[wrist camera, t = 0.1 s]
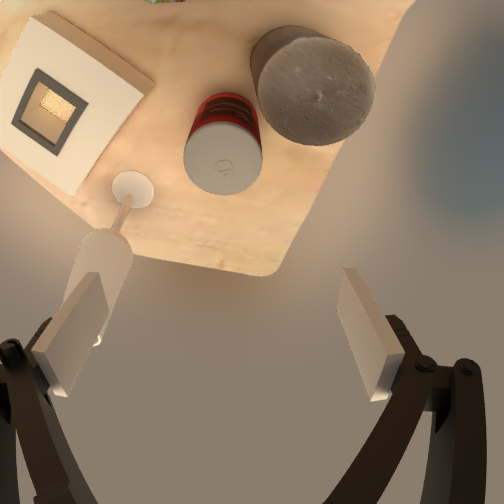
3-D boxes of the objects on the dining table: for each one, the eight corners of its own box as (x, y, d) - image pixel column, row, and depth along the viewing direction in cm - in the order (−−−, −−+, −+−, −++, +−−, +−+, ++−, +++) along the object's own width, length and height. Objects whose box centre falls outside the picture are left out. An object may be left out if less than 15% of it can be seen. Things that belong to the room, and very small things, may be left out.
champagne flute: (163, 197, 45) (124, 345, 28) (129, 215, 47) (83, 354, 30) (136, 162, 41) (73, 306, 24) (102, 183, 43) (36, 321, 26)
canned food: (216, 157, 41) (210, 207, 34) (184, 110, 36) (166, 148, 29) (269, 132, 39) (277, 177, 31) (239, 80, 34) (237, 109, 26)
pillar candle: (274, 112, 37) (292, 172, 26) (234, 46, 31) (233, 73, 20) (345, 81, 34) (396, 128, 23) (311, 11, 28) (355, 19, 17)
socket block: (52, 11, 24) (27, 16, 20) (155, 83, 34) (142, 96, 30) (0, 117, 33) (-22, 134, 29) (85, 177, 42) (71, 200, 38)
